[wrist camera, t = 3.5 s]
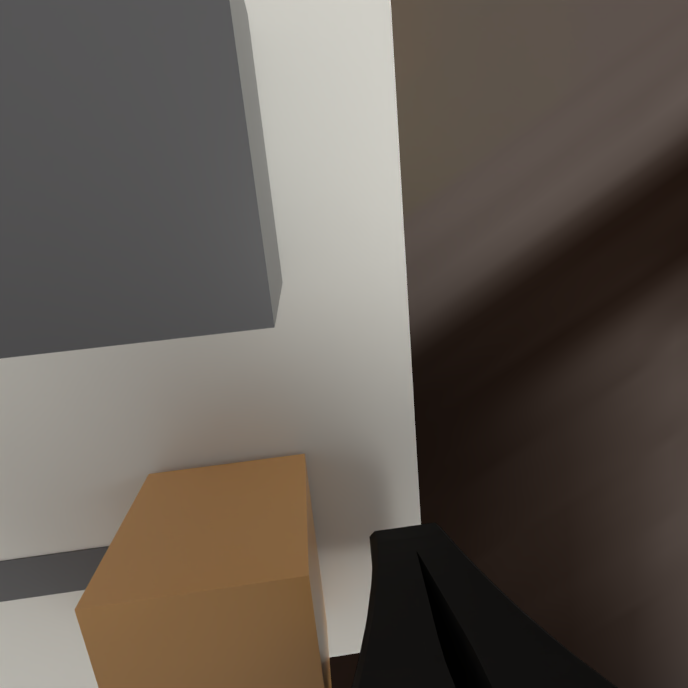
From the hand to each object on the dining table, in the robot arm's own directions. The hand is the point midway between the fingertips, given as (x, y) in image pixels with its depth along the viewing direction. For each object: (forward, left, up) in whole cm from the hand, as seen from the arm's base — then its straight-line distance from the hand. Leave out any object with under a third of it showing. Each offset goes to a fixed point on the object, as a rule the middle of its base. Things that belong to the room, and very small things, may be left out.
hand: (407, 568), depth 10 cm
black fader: (+8, +3, -1) cm, 9 cm away
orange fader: (0, +3, -1) cm, 4 cm away
